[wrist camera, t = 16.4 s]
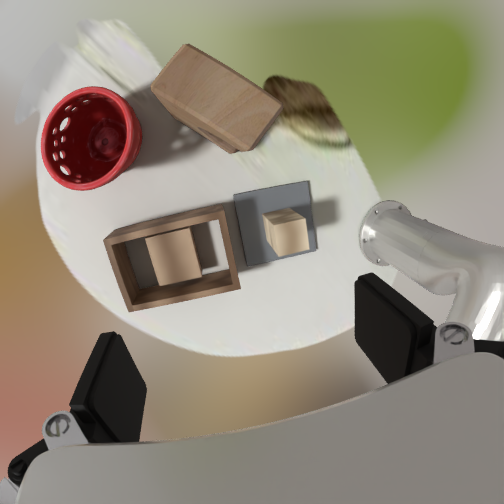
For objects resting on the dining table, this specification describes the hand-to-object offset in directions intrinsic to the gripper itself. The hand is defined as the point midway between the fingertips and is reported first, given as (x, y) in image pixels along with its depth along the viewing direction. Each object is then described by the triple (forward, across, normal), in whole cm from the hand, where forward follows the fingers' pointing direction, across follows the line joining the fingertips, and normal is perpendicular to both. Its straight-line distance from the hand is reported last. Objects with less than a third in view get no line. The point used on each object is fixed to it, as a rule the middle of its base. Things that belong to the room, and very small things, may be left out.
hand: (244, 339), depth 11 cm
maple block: (+36, -9, +6) cm, 37 cm away
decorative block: (+36, -2, -12) cm, 38 cm away
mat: (+36, -9, +6) cm, 38 cm away
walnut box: (+36, +8, +7) cm, 38 cm away
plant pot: (+37, +14, -13) cm, 41 cm away
